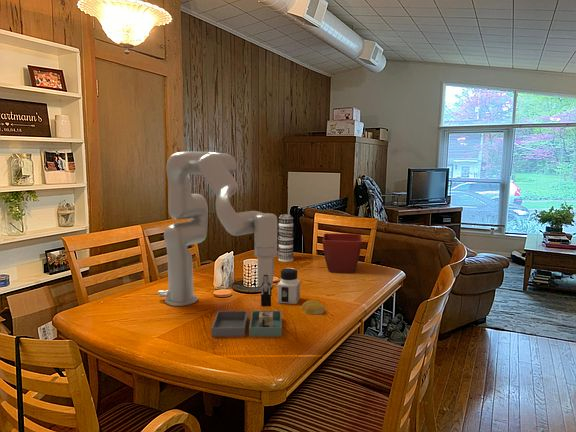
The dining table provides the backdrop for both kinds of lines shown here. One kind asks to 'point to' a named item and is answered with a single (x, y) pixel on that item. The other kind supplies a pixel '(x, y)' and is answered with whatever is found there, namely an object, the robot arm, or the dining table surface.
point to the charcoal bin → (230, 324)
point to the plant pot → (342, 251)
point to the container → (289, 287)
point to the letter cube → (266, 319)
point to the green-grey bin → (265, 331)
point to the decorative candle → (285, 238)
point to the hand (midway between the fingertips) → (266, 301)
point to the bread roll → (313, 307)
